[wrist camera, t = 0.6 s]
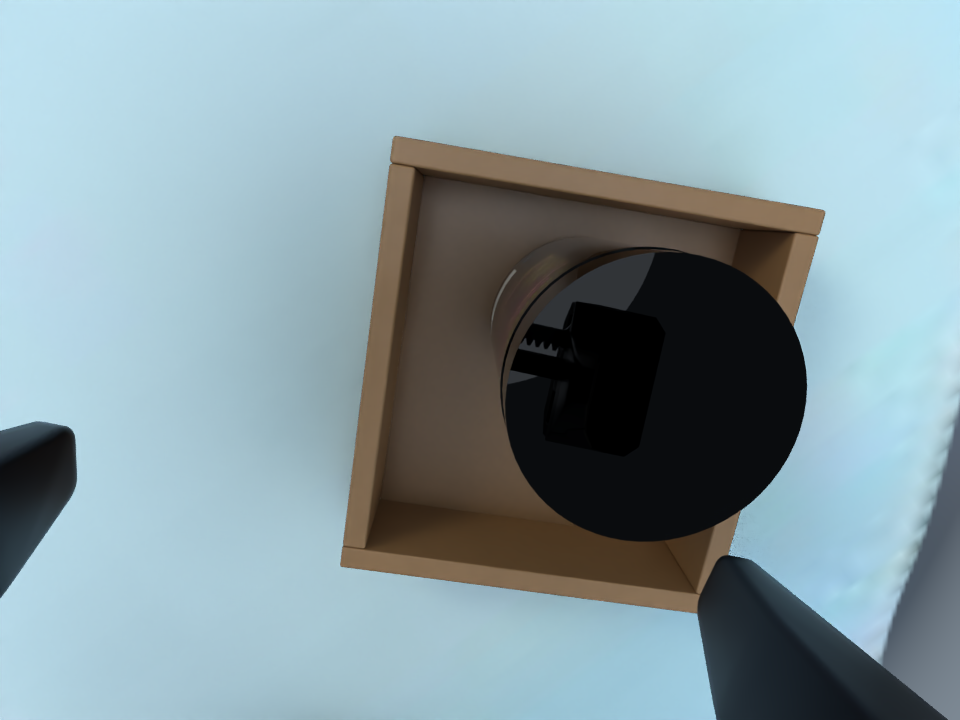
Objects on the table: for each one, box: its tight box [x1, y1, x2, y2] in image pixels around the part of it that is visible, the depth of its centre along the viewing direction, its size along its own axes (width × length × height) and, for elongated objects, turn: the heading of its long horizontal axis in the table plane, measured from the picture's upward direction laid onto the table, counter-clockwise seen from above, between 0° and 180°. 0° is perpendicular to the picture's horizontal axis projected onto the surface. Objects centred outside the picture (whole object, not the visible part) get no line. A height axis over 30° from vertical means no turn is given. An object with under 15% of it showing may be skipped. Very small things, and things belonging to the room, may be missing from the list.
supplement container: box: [490, 237, 807, 542], centre depth 18 cm, size 7×7×10 cm
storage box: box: [340, 136, 825, 613], centre depth 22 cm, size 15×14×4 cm
